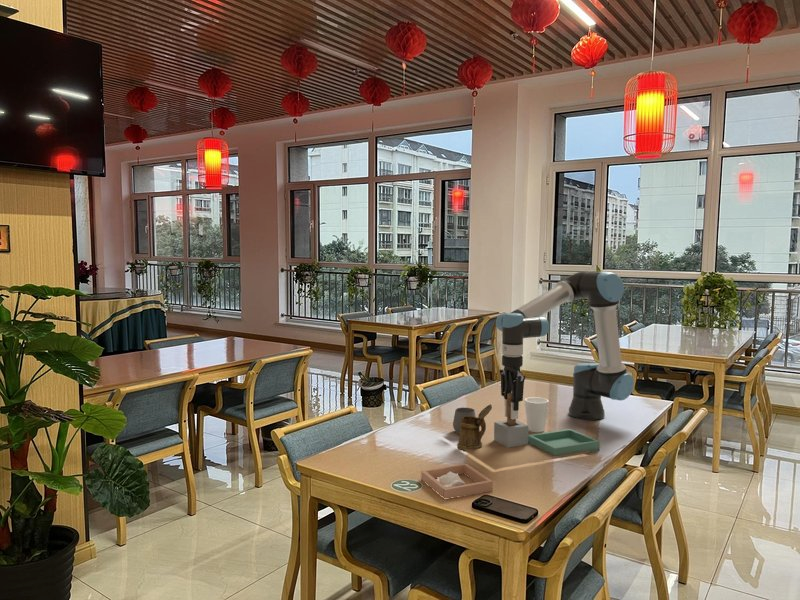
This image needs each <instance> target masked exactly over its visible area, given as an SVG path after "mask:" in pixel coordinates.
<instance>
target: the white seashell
mask: <svg viewBox="0 0 800 600" xmlns="http://www.w3.org/2000/svg"><path fill="white" fill-rule="evenodd" d="M436 480H437V481H438V482H440V483H441V484H442V485H443V486H445V487H446V488H449V487H454V486H460V485H465V484H466V482H464V480H463V479H462V478H461V477H460V475H458V473H457V474H455V473H452V472H448V473H447V474H446V475H442V476H441V477H439V478H437V479H436Z"/></svg>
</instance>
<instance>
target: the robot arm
mask: <svg viewBox="0 0 800 600" xmlns="http://www.w3.org/2000/svg"><path fill="white" fill-rule="evenodd" d="M624 293H625V285H624V282H623V280H622V278H621V277H620V276H619V275H618V274H617V273H614V272H610V271H589V270H584V271H579V272H576V273H573V274H571V275H569V276H567V277H565V278H563V279H561V280H559V281H558V282H556V284H555V286H554V287H552V288H550V289H549V290H547V291H546V292H543V293H542V294H540V295H538V296H537V297H535V298H533V299H532V300H530V301H529V302H527V303H525V304H523V305H521V306H519V307H518V308H516V309H515V310H513V311H511V312H504V313H499V314H498V316H497V317H496V319H495V326H496V329H498V331H500V332H502V333H501V335H502V337H501V338H502V341H501V343H502V344H501V345H502V347H501V348H502V349H501V350H502V351H501V355H502V356H501V365H502V366H503V369H499V374H500V394H501V396H502V397H503V399H504V417H506V418H507V393H512V401H511V419H516V420H518V419H519V410H520V409H519V405H520V404H519V403H521V402H523V401H524V398H523V397H524V387H525V386H524V385H525V380H526V376H525V375H522V373H521V367H523V366H524V365H523V363H524V360H523V359H524V357H523V356H522V355H523V354H524V339H529V338H540V337H544V336H547V334H548V333H549V332H550V331H549V330H550V323H549V321H548V319H547V318H546V317H544V315H546V314H548V313H550V312H551V311H553V310H555V309H556V308H558V307H559V306H561V305H562V304H564V303H571V302H572V301H575V300H582V299H583V300H588V301H587V302H588V306H589V307H590V308H591V310H593V315H594V316H593V317H594V325H595V332H596V333H595V335H596V342H597V349H598V350H597V351H598V359H599V362H583V363H582V362H581V363H577V364H575V365H574V367H573V374H572V375H573V378H572V379H573V380H572V383H573V384H572V386H573V387H572V388H573V389H572V393H573V394H572V398H571V399H572V400H571V402H570V405H569V407H568V415H569V416H571V417H573V418H576V419H579V420H580V419H581V420H589V421H591V420H593V421H595V420H601V419H604V418H605V409H604V406H603V402H602V399H601V397H603V398H607V399H611V400H613V401H614V400H615V401H624V400H626V399H628V398H629V397H630V396H631V394H632V392H633V391H634V387H635V379H634V376H632V375H631V374H630V373H629V372H628V371H627V367H626V365H625V364H624V363H623V362H622V361H623V360H622V355H621V352H622V351H621V346H620V345H621V344H620V338H619V337H620V335H619V326H618V325H619V324H618V317H617V309H616V308H617V307H618V305H619V304H620V300H621V299H622V298H623V295H624ZM627 372H628V373H627Z"/></svg>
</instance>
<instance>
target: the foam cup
mask: <svg viewBox="0 0 800 600" xmlns="http://www.w3.org/2000/svg"><path fill="white" fill-rule="evenodd" d="M549 402H550V401H549V399H548V398H544V397H538V396H531V397H526V398H524V407H525V416H526V425H528V432H533V433H544V431H545V430H546V429H545V428H546V424H547V417H548V411H549V406H550V403H549Z"/></svg>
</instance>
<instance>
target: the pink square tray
mask: <svg viewBox="0 0 800 600" xmlns="http://www.w3.org/2000/svg"><path fill="white" fill-rule="evenodd" d="M420 472H421V473H420V478H421V479H422V480H423V481H424V482H426V483H427V484H428V485H429V486H431V487H432V488H433V489H434V490H435V491H437V492H438V493H439V494H440V495H441V496H443V497H444V498H451V497H457V496H464V495H469V496H472V495H471V494H474V495H478V494H477V493H480V494H484V493H483V492H485V493H489V491H490V492H493V483H494V482H493V480H492V479H490V478H489V477H487V476H486V475H485V474H483V473H481V472H480V471H479V470H477V469H476V468H474V467H472V466H471V465H470V464H468V463H466V462H464V463H458V464H452V465H447V466H440V467H434V468H429V469H422V470H420ZM448 472H452V473H455V474H457V473H458V474H461V475H465V474H466V475H465V476H467V475H468V476H469V477H468V476H467V477H468V478H470V477H471V478H472V479H473V481H474V480H475V481H476V482H475V481H474V482H472V483H467V484H466V483H465V485H460V486H454V487H449V488H446V487H445V486H443V485H442V484H441V483H440V482H438V481H437V480H436V479H435V478H437V477H441V476H442V475H446V474H447V473H448ZM463 473H465V474H463ZM471 478H470V479H471ZM472 479H471V480H472ZM422 480H421V481H422ZM423 481H422V482H423ZM424 482H423V483H424ZM429 486H428V487H429ZM435 491H434V492H435ZM464 497H465V496H464ZM444 498H443V499H444Z"/></svg>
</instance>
